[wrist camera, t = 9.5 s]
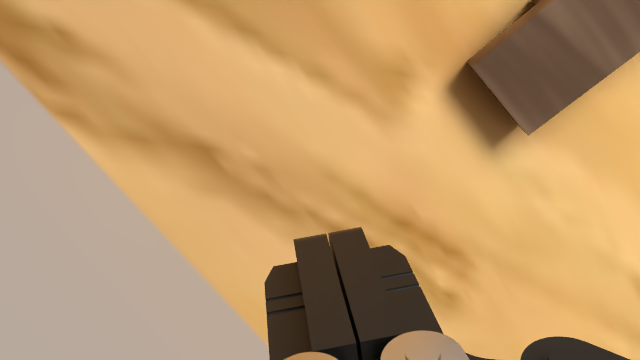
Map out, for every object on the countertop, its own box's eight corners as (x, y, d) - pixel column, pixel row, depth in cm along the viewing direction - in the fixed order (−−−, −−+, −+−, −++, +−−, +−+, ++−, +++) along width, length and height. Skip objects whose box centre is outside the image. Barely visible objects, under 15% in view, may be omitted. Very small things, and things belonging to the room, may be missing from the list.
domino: (528, 135, 31) (678, 22, 28) (472, 66, 30) (623, -58, 27) (519, 127, 33) (661, 19, 30) (466, 61, 32) (608, -56, 29)
